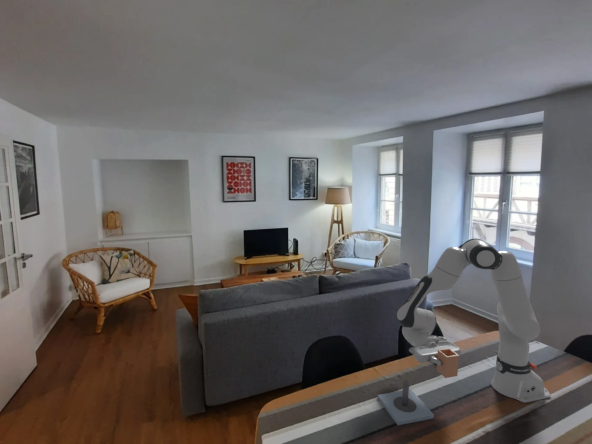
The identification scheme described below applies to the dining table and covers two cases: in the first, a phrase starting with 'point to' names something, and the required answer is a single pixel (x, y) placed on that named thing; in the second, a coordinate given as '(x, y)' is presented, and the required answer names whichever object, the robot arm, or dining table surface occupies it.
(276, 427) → the dining table surface
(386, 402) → the post board
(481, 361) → the dining table surface
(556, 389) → the dining table surface
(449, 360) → the sleeve
